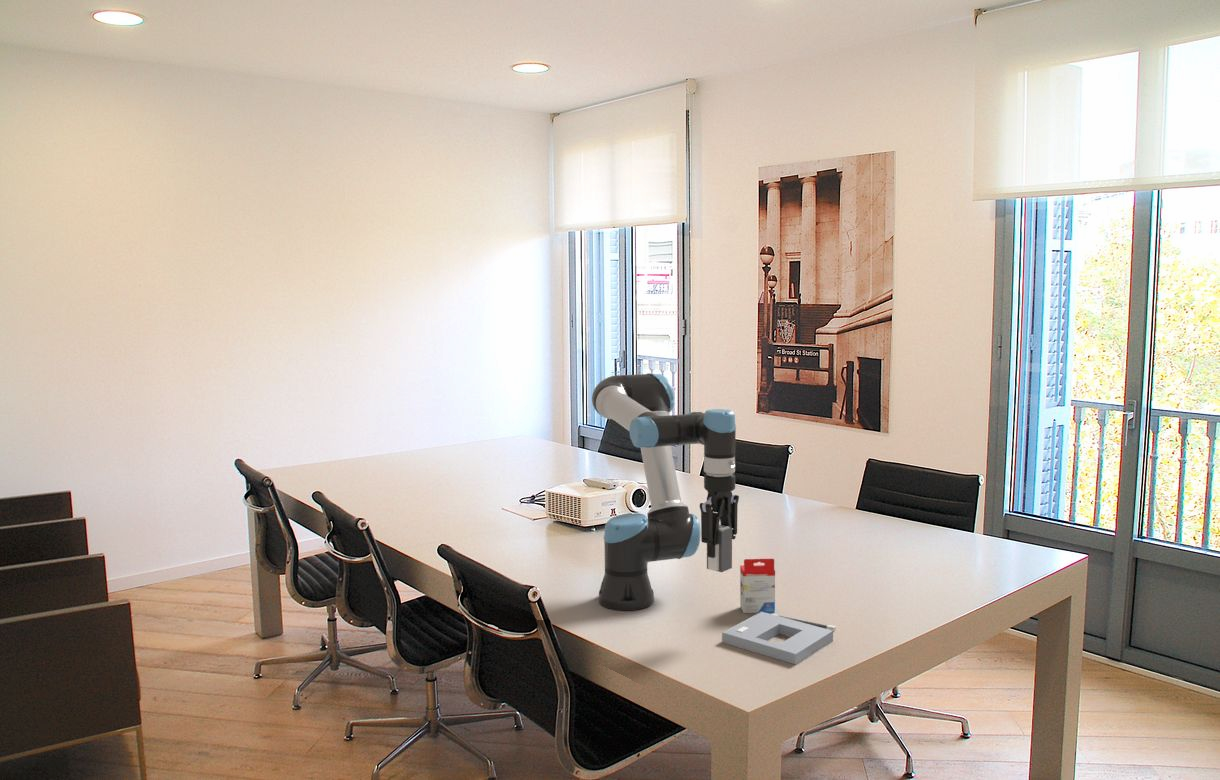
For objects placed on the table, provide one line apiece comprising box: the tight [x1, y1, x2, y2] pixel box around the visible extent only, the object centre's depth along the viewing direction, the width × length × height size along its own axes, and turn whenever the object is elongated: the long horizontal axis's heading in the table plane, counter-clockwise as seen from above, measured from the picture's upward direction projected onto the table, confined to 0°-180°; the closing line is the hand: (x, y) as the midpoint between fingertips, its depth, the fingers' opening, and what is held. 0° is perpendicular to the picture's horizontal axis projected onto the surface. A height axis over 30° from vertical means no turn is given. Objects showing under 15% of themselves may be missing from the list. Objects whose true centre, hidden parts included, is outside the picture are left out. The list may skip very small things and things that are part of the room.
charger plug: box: [706, 524, 733, 573], centre depth 220 cm, size 4×4×11 cm
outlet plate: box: [721, 612, 834, 666], centre depth 218 cm, size 20×18×3 cm
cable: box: [771, 612, 837, 632], centre depth 229 cm, size 17×1×1 cm, turn 57°
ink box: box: [739, 558, 776, 614], centre depth 238 cm, size 8×5×15 cm, turn 92°
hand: (719, 567), depth 221 cm, fingers closed on charger plug, 4 cm apart
